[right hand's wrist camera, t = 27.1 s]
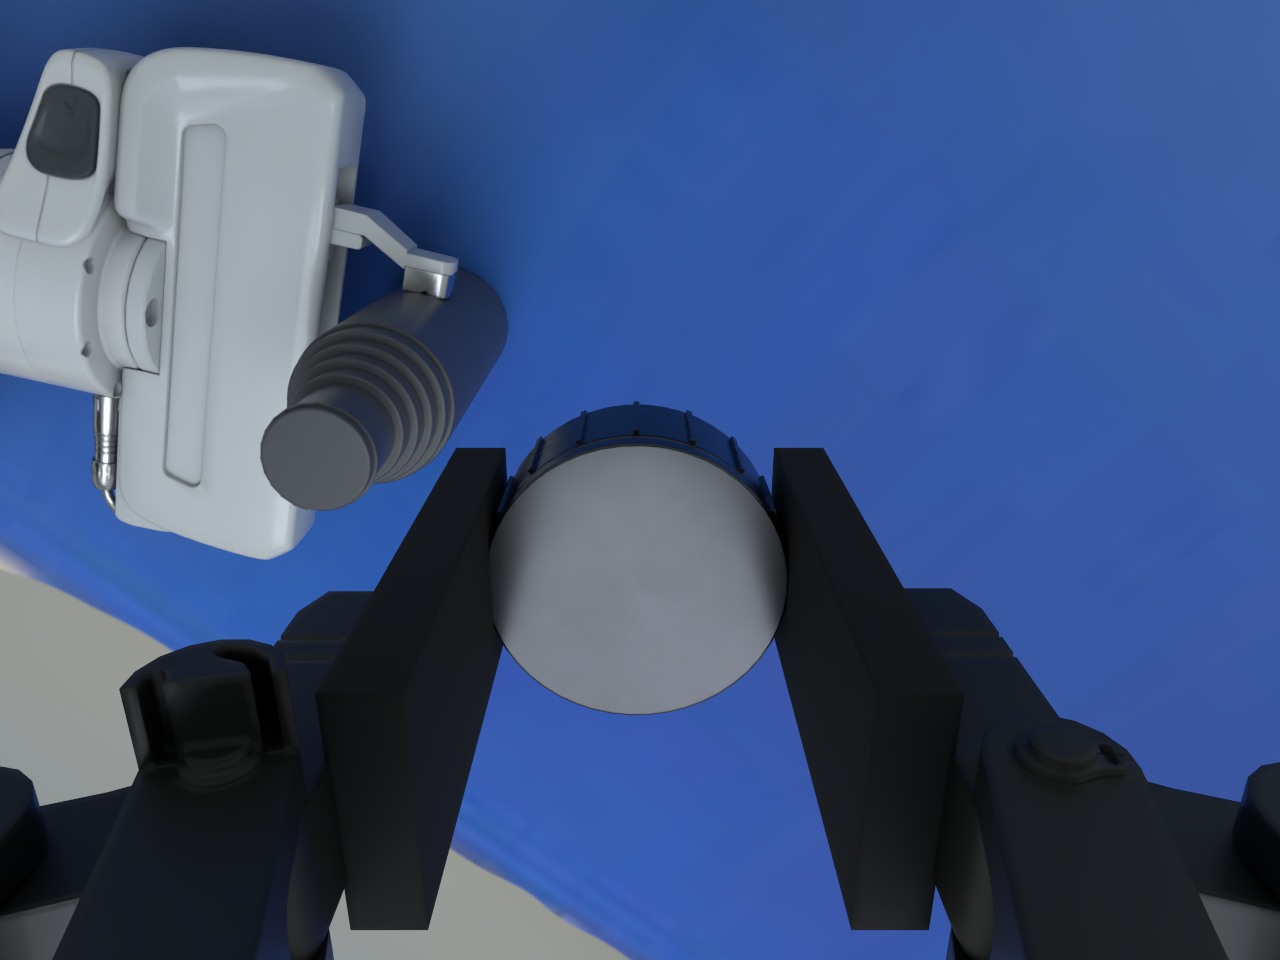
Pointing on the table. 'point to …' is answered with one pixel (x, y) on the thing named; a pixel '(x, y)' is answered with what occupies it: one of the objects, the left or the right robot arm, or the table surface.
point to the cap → (637, 561)
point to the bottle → (382, 393)
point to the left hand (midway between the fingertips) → (440, 360)
